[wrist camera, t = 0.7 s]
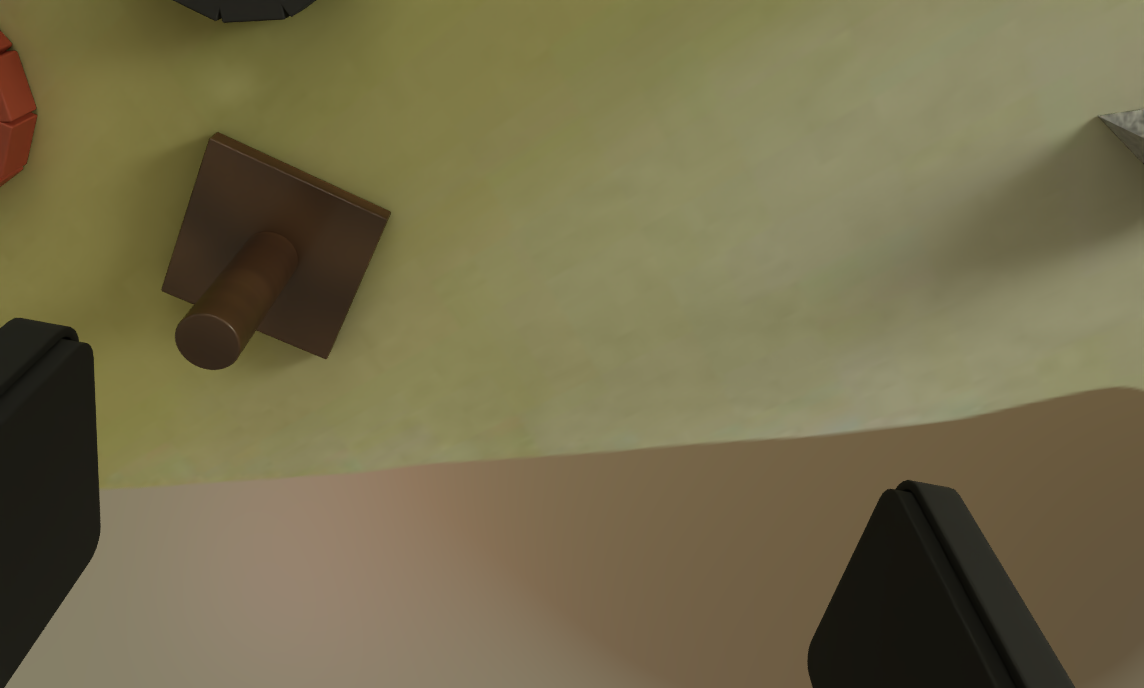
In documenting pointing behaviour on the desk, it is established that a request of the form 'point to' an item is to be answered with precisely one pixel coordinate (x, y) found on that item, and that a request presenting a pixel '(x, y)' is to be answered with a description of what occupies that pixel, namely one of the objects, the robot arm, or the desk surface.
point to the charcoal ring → (246, 9)
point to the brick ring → (14, 113)
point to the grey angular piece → (1128, 129)
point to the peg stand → (266, 255)
